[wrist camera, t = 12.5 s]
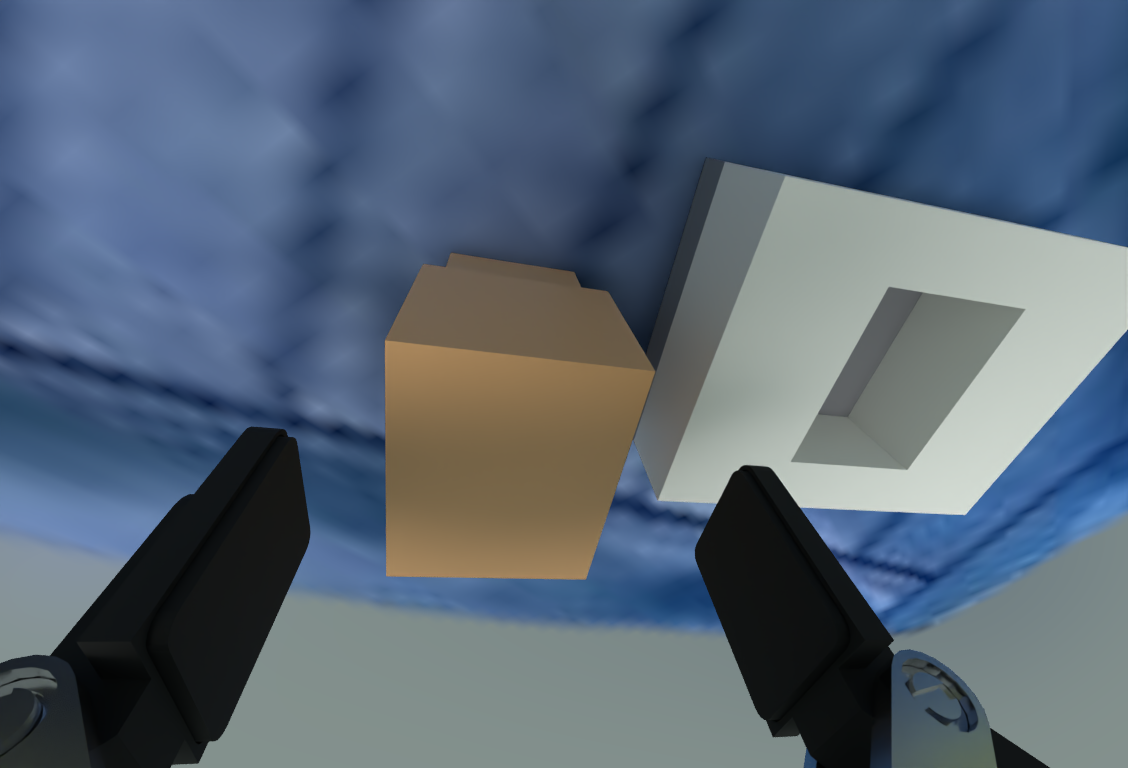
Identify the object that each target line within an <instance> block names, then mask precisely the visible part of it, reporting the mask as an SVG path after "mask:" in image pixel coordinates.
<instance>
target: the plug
mask: <svg viewBox="0 0 1128 768" xmlns="http://www.w3.org/2000/svg"><path fill="white" fill-rule="evenodd" d="M654 374H655V370H654V368H653V367H652V365H651V363H650V361H649V360H648V358H647V356H646V355H645V353H644V351H643V350H642V348H641V346H640V345H639V343H638V341H637V339H636V338H635V336H634V334H633V333H632V331H631V329H630V328H629V326H628V324H627V323H626V321H625V319H624V317H623V316H622V314H621V312H620V311H619V309H618V307H617V306H616V304H615V302H614V301H613V299H612V297H611V295H610V294H609V292H608V291H602V290H595V289H589V288H582V287H581V286H580V284H579V281H578V279H577V277H576V275H575V273H574V272H571V271H565V270H558V269H552V268H546V267H539V266H533V265H526V264H520V263H513V262H507V261H501V260H494V259H488V258H481V257H475V256H469V255H462V254H456V253H451V254H450V256H449V259H448V262H447V265H446V267H441V266H435V265H428V264H423V265H422V267H421V269H420V271H419V273H418V275H417V277H416V279H415V281H414V283H413V285H412V287H411V289H410V291H409V293H408V295H407V297H406V299H405V301H404V303H403V305H402V307H401V309H400V311H399V313H398V315H397V317H396V319H395V321H394V323H393V325H392V327H391V329H390V331H389V333H388V335H387V337H386V339H385V432H386V576H399V577H463V578H527V579H586V577H587V574H588V571H589V568H590V565H591V562H592V559H593V556H594V553H595V550H596V547H597V544H598V541H599V538H600V535H601V532H602V529H603V526H604V523H605V520H606V517H607V514H608V511H609V508H610V505H611V503H612V500H613V497H614V494H615V491H616V488H617V485H618V482H619V479H620V476H621V473H622V470H623V467H624V464H625V461H626V458H627V455H628V452H629V449H630V446H631V443H632V440H633V437H634V434H635V431H636V428H637V425H638V422H639V419H640V416H641V413H642V410H643V407H644V404H645V401H646V398H647V395H648V392H649V389H650V386H651V383H652V380H653V377H654Z"/></svg>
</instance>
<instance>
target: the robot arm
mask: <svg viewBox="0 0 1128 768" xmlns="http://www.w3.org/2000/svg"><path fill="white" fill-rule="evenodd" d="M309 540H310V524H309V518H308V511H307V505H306V498H305V492H304V485H303V478H302V472H301V465H300V459H299V452H298V446H297V441H296V439H295V438H293V437H288V435H287V432H286V431H285V430H284V429H276V428H263V427H249V428H247V429H246V430H245V431H244V432H243V433H242V435H241V436H240V437H239V438H238V440H237V441H236V442H235V443H234V445H233V446H232V447H231V448H230V450H229V451H228V452H227V453H226V455H225V456H224V457H223V459H222V460H221V461H220V462H219V464H218V465H217V466H216V467H215V469H214V470H213V471H212V472H211V474H210V475H209V476H208V477H207V479H206V480H205V481H204V482H203V484H202V485H201V486H200V487H199V489H198V490H197V491H196V492H195V494H189V495H187V496H185V497H183V498H181V499H180V500H179V501H178V502H177V503H176V504H175V505H174V506H173V507H172V509H171V510H170V511H169V512H168V513H167V515H166V516H165V517H164V518H163V519H162V521H161V522H160V523H159V524H158V525H157V527H156V528H155V529H154V530H153V532H152V533H151V534H150V535H149V536H148V538H147V539H146V540H145V541H144V542H143V544H142V545H141V546H140V547H139V548H138V550H137V551H136V552H135V553H134V555H133V556H132V557H131V558H130V559H129V561H128V562H127V563H126V564H125V565H124V567H123V568H122V569H121V570H120V572H119V573H118V574H117V575H116V576H115V578H114V579H113V580H112V581H111V582H110V584H109V585H108V586H107V587H106V589H105V590H104V591H103V592H102V593H101V595H100V596H99V597H98V598H97V599H96V601H95V602H94V603H93V604H92V606H91V607H90V608H89V609H88V610H87V611H86V613H85V614H84V615H83V616H82V618H81V619H80V620H79V621H78V622H77V624H76V625H75V626H74V627H73V628H72V630H71V631H70V632H69V633H68V635H67V636H66V637H65V638H64V639H63V641H62V642H61V643H60V644H59V645H58V647H57V648H56V649H55V650H54V651H53V653H52V654H51V655H50V656H45V655H32V656H27V657H21V658H15V659H11V660H8V661H5V662H3V663H0V768H170V767H171V765H175V764H195V763H196V764H197V763H199V761H200V759H201V757H202V754H203V753H204V750H205V748H206V746H207V744H208V742H209V741H216V740H218V739H219V738H220V737H221V735H222V734H223V732H224V731H225V729H226V727H227V725H228V723H229V721H230V718H231V716H232V714H233V712H234V709H235V707H236V705H237V703H238V700H239V698H240V696H241V694H242V692H243V689H244V687H245V685H246V683H247V681H248V678H249V676H250V674H251V672H252V669H253V667H254V665H255V663H256V660H257V658H258V656H259V654H260V652H261V649H262V647H263V645H264V643H265V641H266V638H267V636H268V634H269V632H270V630H271V627H272V625H273V623H274V621H275V618H276V616H277V614H278V612H279V609H280V607H281V605H282V603H283V601H284V598H285V596H286V594H287V592H288V590H289V587H290V585H291V583H292V581H293V578H294V576H295V574H296V572H297V570H298V567H299V565H300V563H301V561H302V558H303V556H304V554H305V552H306V550H307V547H308V544H309ZM695 559H696V562H697V565H698V567H699V570H700V572H701V575H702V577H703V580H704V582H705V585H706V587H707V590H708V592H709V595H710V597H711V599H712V602H713V604H714V607H715V609H716V612H717V614H718V617H719V619H720V622H721V624H722V627H723V629H724V632H725V634H726V637H727V639H728V642H729V644H730V646H731V649H732V652H733V654H734V656H735V659H736V661H737V664H738V666H739V669H740V671H741V674H742V676H743V679H744V681H745V684H746V686H747V689H748V691H749V694H750V696H751V699H752V701H753V704H754V706H755V708H756V710H757V712H758V714H759V715H760V717H761V718H763V719H764V720H766V721H767V724H768V726H769V729H770V731H771V733H772V736H773V737H787V736H798V735H799V734H801V737H802V739H803V741H804V743H805V745H806V747H807V749H806V755H805V762H804V768H1049V767H1048V766H1046V765H1045V764H1044V763H1042V762H1041V761H1039V760H1037V759H1036V758H1035V757H1033V756H1031V755H1030V754H1029V753H1027V752H1026V751H1024V750H1022V749H1021V748H1020V747H1018V746H1017V745H1015V744H1014V743H1012V742H1010V741H1009V740H1007V739H1006V738H1005V737H1003V736H1002V735H1000V734H999V733H997V732H995V731H994V730H993V729H991V728H990V726H989V722H988V719H987V716H986V713H985V710H984V708H983V707H982V705H981V704H980V702H979V700H978V699H977V697H976V695H975V694H974V693H973V692H972V691H971V689H970V688H969V687H968V686H967V685H966V683H965V682H964V681H963V680H962V679H960V678H959V677H958V676H957V675H956V674H955V673H954V672H953V671H951V669H949V668H948V667H946V666H945V665H943V664H942V663H941V662H939V661H938V660H936V659H935V658H933V657H930V656H928V655H926V654H924V653H922V652H918V651H914V650H910V649H909V650H901V651H899V652H898V653H897V654H895V655H894V654H893V653H892V651H891V650H890V648H889V647H888V646H889V645H890V644H891V643H892V642H893V641H894V640H893V638H892V637H891V635H890V634H889V633H888V631H887V630H886V628H885V627H884V626H883V624H882V623H881V621H880V620H879V619H878V617H877V616H876V614H875V613H874V611H873V610H872V609H871V607H870V606H869V604H868V603H867V602H866V600H865V599H864V597H863V596H862V595H861V593H860V592H859V590H858V589H857V588H856V586H855V585H854V583H853V582H852V580H851V579H850V578H849V576H848V575H847V573H846V572H845V571H844V569H843V568H842V566H841V565H840V564H839V562H838V561H837V559H836V558H835V557H834V555H833V554H832V552H831V551H830V550H829V548H828V547H827V545H826V544H825V542H824V541H823V540H822V538H821V537H820V535H819V534H818V533H817V531H816V530H815V528H814V527H813V526H812V524H811V523H810V521H809V520H808V519H807V517H806V516H805V514H804V513H803V511H802V510H801V509H800V507H799V506H798V504H797V503H796V502H795V500H794V499H793V497H792V496H791V495H790V493H789V492H788V490H787V489H786V488H785V486H784V485H783V483H782V482H781V481H780V479H779V478H778V476H777V475H776V473H775V472H774V471H773V470H772V469H771V468H770V467H767V466H754V465H743V466H741V467H740V468H739V470H738V471H735V472H733V474H732V475H731V477H730V479H729V481H728V483H727V485H726V487H725V489H724V491H723V493H722V495H721V497H720V499H719V501H718V503H717V505H716V507H715V509H714V511H713V513H712V515H711V517H710V519H709V521H708V523H707V525H706V527H705V529H704V531H703V533H702V535H701V537H700V539H699V541H698V542H697V544H696V547H695Z"/></svg>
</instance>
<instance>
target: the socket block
mask: <svg viewBox="0 0 1128 768" xmlns="http://www.w3.org/2000/svg"><path fill="white" fill-rule="evenodd" d="M1127 330H1128V247H1124V246H1119V245H1115V244H1110V243H1106V242H1101V241H1097V240H1092V239H1088V238H1083V237H1078V236H1074V235H1069V234H1065V233H1060V232H1056V231H1051V230H1047V229H1042V228H1038V227H1033V226H1028V225H1024V224H1019V223H1014V222H1010V221H1005V220H1000V219H995V218H991V217H986V216H981V215H977V214H972V213H967V212H962V211H958V210H953V209H948V208H943V207H939V206H934V205H929V204H925V203H920V202H915V201H910V200H906V199H901V198H896V197H891V196H887V195H882V194H877V193H872V192H868V191H863V190H858V189H854V188H849V187H844V186H839V185H835V184H830V183H825V182H820V181H816V180H811V179H806V178H802V177H797V176H792V175H787V174H783V173H778V172H773V171H768V170H764V169H759V168H754V167H749V166H745V165H740V164H735V163H731V162H726V161H721V160H716V159H712V158H707V157H706V160H705V163H704V166H703V169H702V173H701V176H700V179H699V183H698V186H697V189H696V192H695V196H694V199H693V202H692V205H691V209H690V212H689V215H688V218H687V222H686V225H685V228H684V231H683V235H682V238H681V241H680V244H679V248H678V251H677V254H676V257H675V261H674V264H673V267H672V271H671V274H670V277H669V280H668V284H667V287H666V290H665V293H664V297H663V300H662V303H661V306H660V310H659V313H658V316H657V319H656V323H655V326H654V329H653V332H652V336H651V339H650V342H649V346H648V349H647V352H646V356H647V358H648V360H649V361H650V363H651V365H652V367H653V368H654V370H655V374H654V377H653V380H652V383H651V386H650V389H649V392H648V395H647V398H646V401H645V404H644V407H643V410H642V413H641V416H640V419H639V422H638V425H637V428H636V431H635V434H634V437H633V440H634V443H635V445H636V448H637V450H638V453H639V455H640V458H641V460H642V463H643V465H644V468H645V470H646V473H647V475H648V478H649V480H650V483H651V485H652V488H653V490H654V492H655V495H656V497H657V500H658V501H675V502H696V503H718V501H719V499H720V497H721V495H722V493H723V491H724V489H725V487H726V485H727V483H728V481H729V479H730V477H731V475H732V474H733V472H735V471H738V470H739V468H740V467H741V466H743V465H754V466H767V467H770V468H771V469H772V470H773V471H774V472H775V473H776V475H777V476H778V478H779V479H780V481H781V482H782V483H783V485H784V486H785V488H786V489H787V490H788V492H789V493H790V495H791V496H792V497H793V499H794V500H795V502H796V503H797V504H798V506H799V507H804V508H825V509H846V510H868V511H889V512H911V513H932V514H953V515H965V514H966V513H967V512H968V511H969V510H970V509H971V508H972V506H973V505H974V504H975V503H976V502H977V501H978V500H979V498H980V497H981V496H982V495H983V494H984V493H985V492H986V490H987V489H988V488H989V487H990V486H991V485H992V484H993V482H994V481H995V480H996V479H997V478H998V477H999V476H1000V474H1001V473H1002V472H1003V471H1004V470H1005V469H1006V468H1007V467H1008V465H1009V464H1010V463H1011V462H1012V461H1013V460H1014V459H1015V457H1016V456H1017V455H1018V454H1019V453H1020V452H1021V451H1022V449H1023V448H1024V447H1025V446H1026V445H1027V444H1028V443H1029V441H1030V440H1031V439H1032V438H1033V437H1034V436H1035V435H1036V433H1037V432H1038V431H1039V430H1040V429H1041V428H1042V427H1043V425H1044V424H1045V423H1046V422H1047V421H1048V420H1049V419H1050V417H1051V416H1052V415H1053V414H1054V413H1055V412H1056V411H1057V409H1058V408H1059V407H1060V406H1061V405H1062V404H1063V403H1064V401H1065V400H1066V399H1067V398H1068V397H1069V396H1070V395H1071V393H1072V392H1073V391H1074V390H1075V389H1076V388H1077V387H1078V385H1079V384H1080V383H1081V382H1082V381H1083V380H1084V379H1085V377H1086V376H1087V375H1088V374H1089V373H1090V372H1091V371H1092V370H1093V368H1094V367H1095V366H1096V365H1097V364H1098V363H1099V362H1100V360H1101V359H1102V358H1103V357H1104V356H1105V355H1106V354H1107V352H1108V351H1109V350H1110V349H1111V348H1112V347H1113V346H1114V344H1115V343H1116V342H1117V341H1118V340H1119V339H1120V338H1121V336H1122V335H1123V334H1124V333H1125V332H1126V331H1127Z"/></svg>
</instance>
